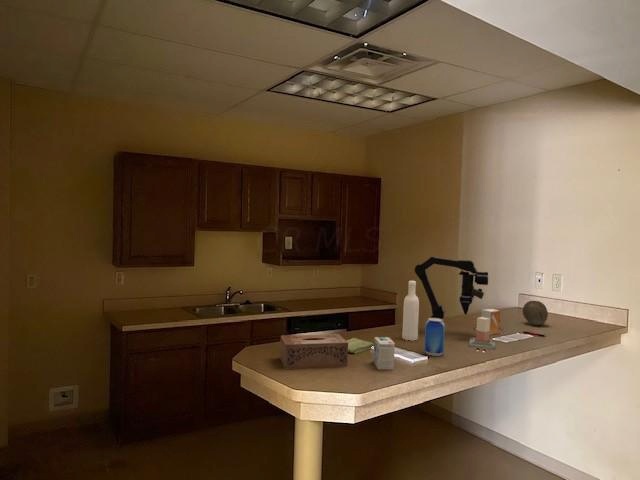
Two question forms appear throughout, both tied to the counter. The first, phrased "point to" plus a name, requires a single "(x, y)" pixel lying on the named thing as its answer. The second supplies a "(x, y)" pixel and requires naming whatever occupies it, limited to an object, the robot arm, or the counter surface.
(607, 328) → the counter surface
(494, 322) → the small box
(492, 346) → the baseplate
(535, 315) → the cantaloupe
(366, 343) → the washcloth
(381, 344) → the light bulb box
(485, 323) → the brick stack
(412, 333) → the bottle
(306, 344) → the tissue box cover
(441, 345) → the beer can
